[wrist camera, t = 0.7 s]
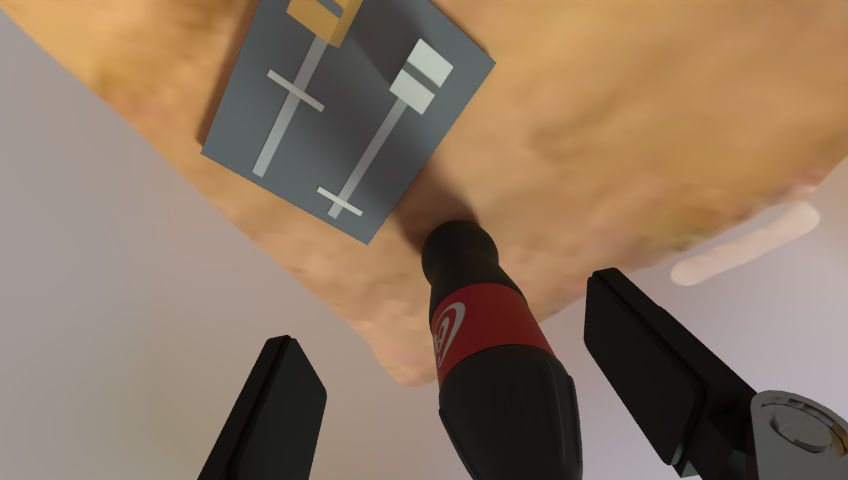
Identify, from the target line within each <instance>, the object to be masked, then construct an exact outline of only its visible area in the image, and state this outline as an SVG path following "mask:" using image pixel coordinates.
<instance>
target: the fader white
mask: <svg viewBox="0 0 848 480" xmlns="http://www.w3.org/2000/svg"><path fill="white" fill-rule="evenodd" d="M452 69H453V66H452V65H451V64H450V63H448V62H447V61H446V60H445V59H444V58H443V57H441V56H440V55H439V54H438V53H437V52H436V51H434V50H433V49H432V48H431V47H430V46H429V45H427V44H426V43H425V42H424V41H423V40H422V39H419V41H418V43H417V44H416V46H415V48H414V49H413V51H412V53H411V54H410V56H409V58H408V59H407V61H406V63H405V64H404V66H403V68H402V69H401V71H400V73H399V74H398V76H397V78H396V79H395V81H394V83H393V84H392V86H391V88H390V91H391V92H392V93H394V94H395V95H396V96H398V97H399V98H400V99H402V100H403V101H404V102H406V103H407V104H408V105H409V106H411V107H412V108H413V109H415V110H416V111H417V112H419V113H420V114H421V115H422V114H423V113H424V111H425V110H426V108H427V107H428V105H429V103H430V102H431V100H432V99H433V97H434V96H435V95H436V93H437V92H438V90H439V89H440V87H441V85H442V84H443V82H444V81H445V79H446V78H447V76H448V75H449V73H450V72H451V70H452Z"/></svg>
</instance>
